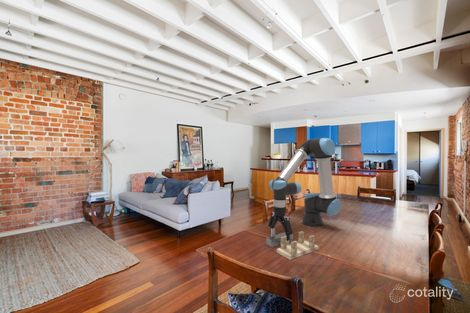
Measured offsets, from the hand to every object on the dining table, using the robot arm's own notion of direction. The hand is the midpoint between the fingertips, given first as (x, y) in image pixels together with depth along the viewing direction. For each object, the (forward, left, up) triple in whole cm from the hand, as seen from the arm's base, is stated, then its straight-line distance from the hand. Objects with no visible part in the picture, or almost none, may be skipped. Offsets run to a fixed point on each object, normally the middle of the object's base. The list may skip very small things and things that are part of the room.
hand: (279, 242), depth 136 cm
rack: (0, +14, 0) cm, 14 cm away
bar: (0, 0, -1) cm, 1 cm away
